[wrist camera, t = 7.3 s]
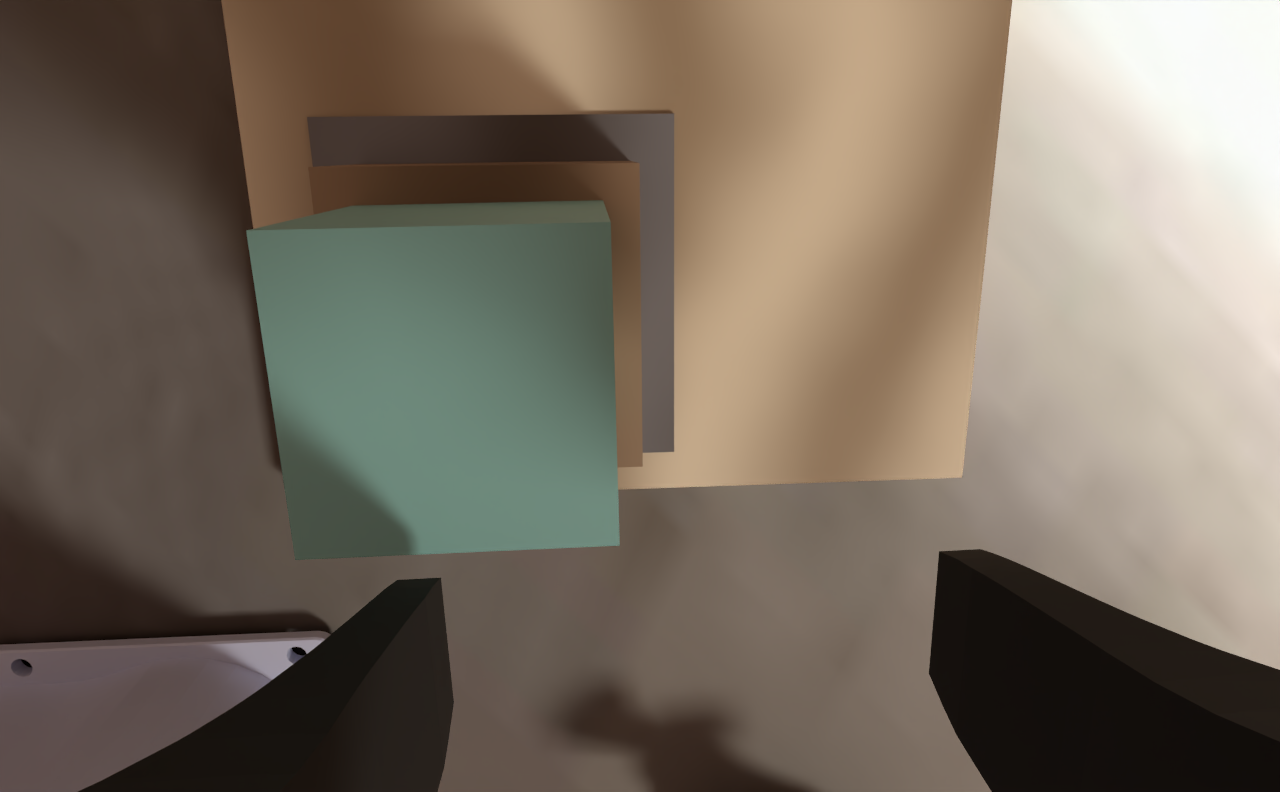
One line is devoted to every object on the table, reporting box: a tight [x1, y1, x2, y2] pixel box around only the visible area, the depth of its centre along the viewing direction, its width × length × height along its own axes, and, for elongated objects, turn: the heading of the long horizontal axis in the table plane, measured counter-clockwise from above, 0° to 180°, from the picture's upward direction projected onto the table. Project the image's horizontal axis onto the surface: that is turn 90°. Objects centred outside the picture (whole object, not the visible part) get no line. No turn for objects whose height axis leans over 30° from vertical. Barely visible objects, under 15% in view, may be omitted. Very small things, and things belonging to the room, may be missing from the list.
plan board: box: [221, 0, 1012, 489], centre depth 19 cm, size 17×15×1 cm
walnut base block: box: [308, 161, 643, 468], centre depth 18 cm, size 6×6×4 cm
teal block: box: [246, 200, 620, 560], centre depth 14 cm, size 5×5×5 cm
